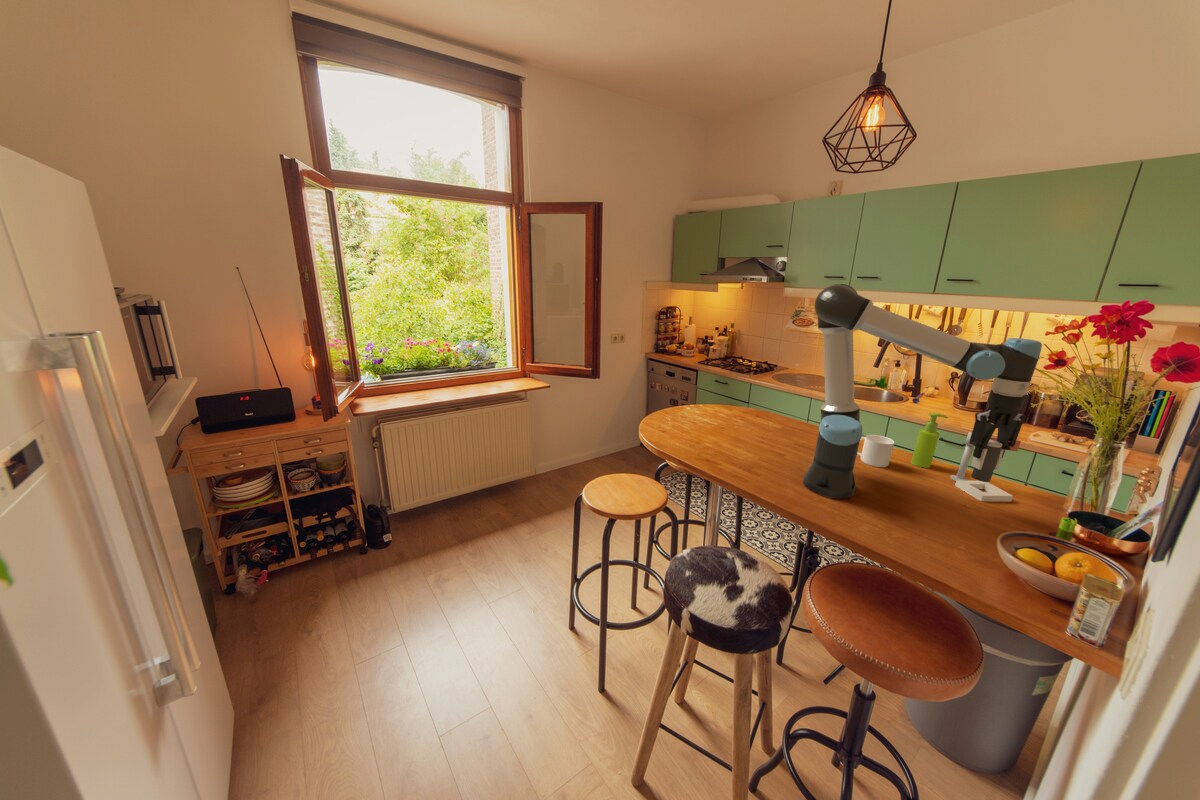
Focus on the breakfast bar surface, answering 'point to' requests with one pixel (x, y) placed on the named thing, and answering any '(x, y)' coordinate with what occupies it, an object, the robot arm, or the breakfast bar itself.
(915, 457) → the soap dispenser
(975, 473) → the dark grey cylinder
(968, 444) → the clip
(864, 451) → the mug
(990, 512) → the breakfast bar surface
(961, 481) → the socket
